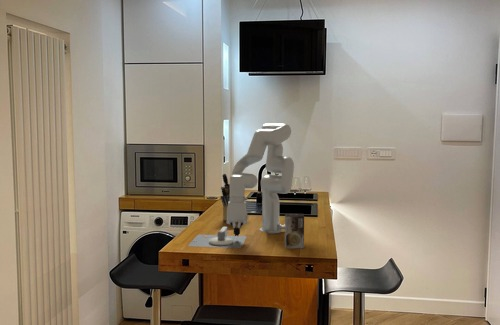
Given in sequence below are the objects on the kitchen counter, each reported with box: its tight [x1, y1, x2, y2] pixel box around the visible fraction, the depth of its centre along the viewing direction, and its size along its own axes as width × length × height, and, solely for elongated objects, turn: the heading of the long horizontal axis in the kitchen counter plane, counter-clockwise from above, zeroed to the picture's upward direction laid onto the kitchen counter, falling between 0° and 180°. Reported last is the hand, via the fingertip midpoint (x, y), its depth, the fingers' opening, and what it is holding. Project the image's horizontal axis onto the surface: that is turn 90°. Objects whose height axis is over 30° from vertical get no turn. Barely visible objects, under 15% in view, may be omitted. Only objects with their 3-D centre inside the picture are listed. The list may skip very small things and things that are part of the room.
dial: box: [209, 226, 233, 245], centre depth 254 cm, size 18×12×5 cm, turn 173°
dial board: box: [187, 234, 248, 249], centre depth 255 cm, size 26×24×2 cm
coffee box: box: [284, 213, 305, 249], centre depth 250 cm, size 9×6×16 cm
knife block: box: [219, 173, 230, 222], centre depth 316 cm, size 11×35×31 cm, turn 171°
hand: (236, 235), depth 256 cm, fingers closed
